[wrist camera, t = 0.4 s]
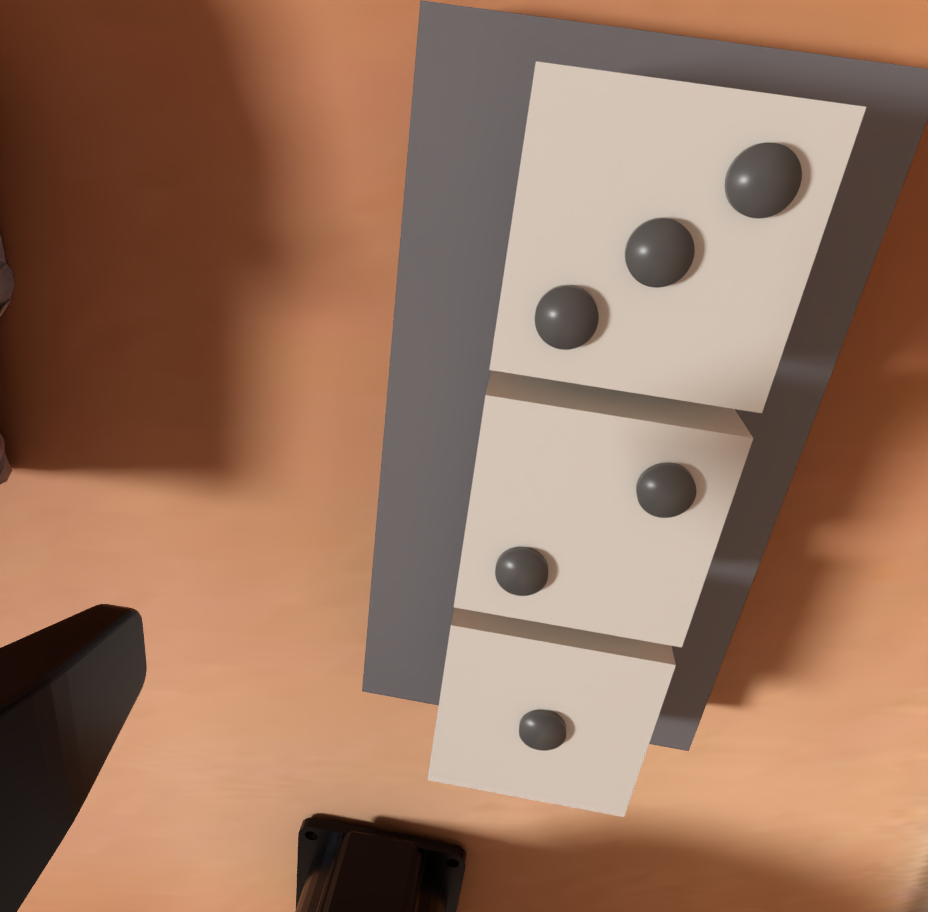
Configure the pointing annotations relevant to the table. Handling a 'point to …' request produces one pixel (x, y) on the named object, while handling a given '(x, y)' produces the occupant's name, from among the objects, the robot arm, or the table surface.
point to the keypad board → (478, 295)
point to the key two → (596, 506)
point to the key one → (547, 711)
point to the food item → (3, 284)
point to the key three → (665, 233)
